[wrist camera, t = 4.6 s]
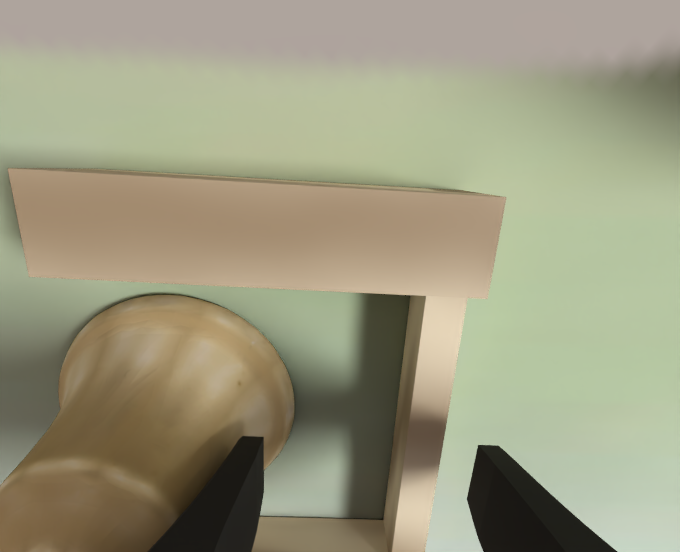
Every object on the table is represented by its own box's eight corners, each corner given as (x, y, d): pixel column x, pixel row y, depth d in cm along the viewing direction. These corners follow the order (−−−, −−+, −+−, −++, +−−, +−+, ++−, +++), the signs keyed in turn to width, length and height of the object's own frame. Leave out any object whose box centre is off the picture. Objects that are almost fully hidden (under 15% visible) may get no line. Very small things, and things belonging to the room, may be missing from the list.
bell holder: (405, 564, 16) (421, 652, 13) (146, 558, 15) (102, 648, 12) (461, 189, 11) (506, 197, 8) (94, 168, 11) (7, 168, 8)
